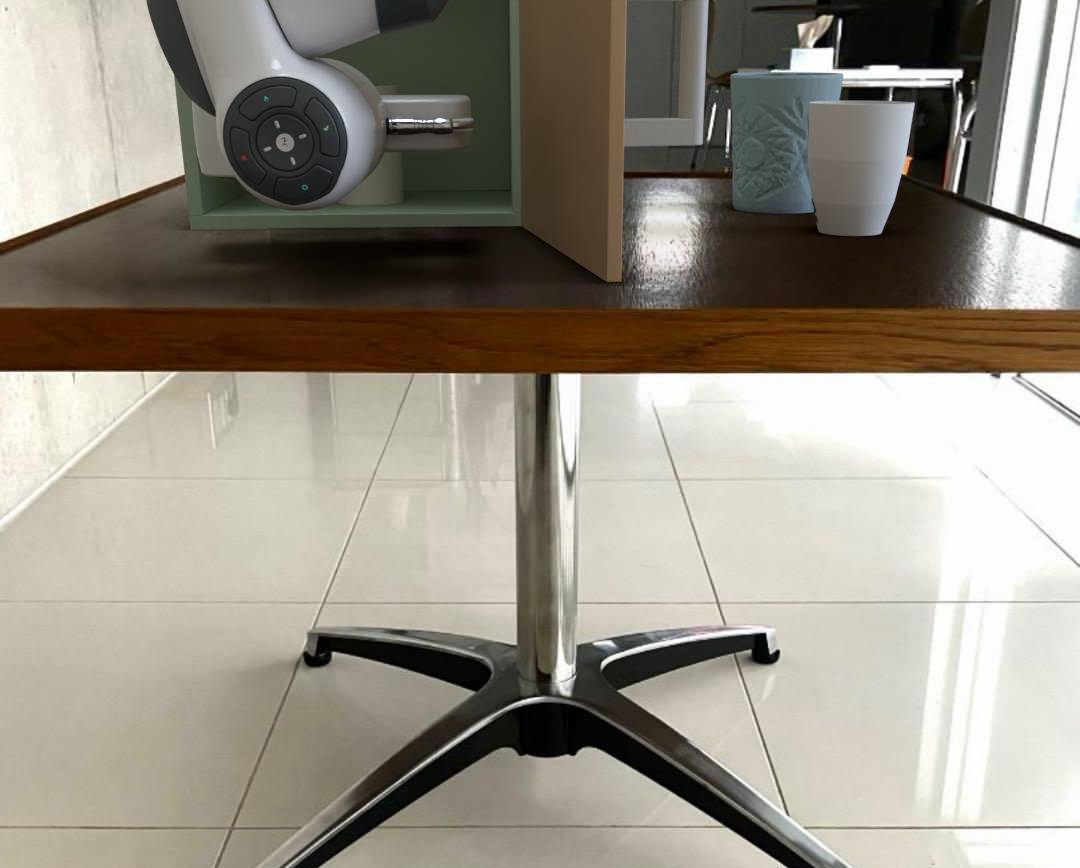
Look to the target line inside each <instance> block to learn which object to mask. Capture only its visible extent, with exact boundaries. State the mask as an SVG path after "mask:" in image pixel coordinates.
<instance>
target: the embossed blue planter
mask: <svg viewBox="0 0 1080 868" xmlns="http://www.w3.org/2000/svg"><path fill="white" fill-rule="evenodd" d="M729 81H730V97H731V98H730V99H731V111H732V116H731V119H732V130H731V131H732V136H731V148H732V152H731V153H732V154H731V163H732V181H731V182H732V183H731V185H732V189H731V191H732V206H733V209H734V210H736V211H741V212H748V213H759V214H806V213H807V214H808V213H814V209H813V204H812V200H811V188H810V176H809V164H808V120H809V102H814V101H840V100H841V92H842V87H843V81H844V73H843V72H842V73H841V72H813V71H812V72H811V71H810V72H809V71H807V72H806V71H804V72H803V71H802V72H800V71H792V72H791V71H767V72H766V71H760V72H757V71H756V72H755V71H754V72H737V73H736V72H735V73H732V74H730V80H729Z"/></svg>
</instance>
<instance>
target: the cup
mask: <svg viewBox="0 0 1080 868" xmlns="http://www.w3.org/2000/svg"><path fill="white" fill-rule="evenodd" d="M915 104H916V103H915V102H914V101H913V102H912V101H899V100H896V101H895V100H839V101H814V102H809V120H808V164H809V176H810V188H811V200H812V204H813V209H814V212H813V214H814V219H815V222H816V226H817V231H818V233H821V234H824V235H832V236H841V237H843V236H844V237H865V236H866V237H868V236H869V237H870V236H877V235H881V234H882V233H883V230H884V227H885V225H886V223H887V221H888V218H889V216H890V213H891V210H892V208H893V206H894V204H895V201H896V197H897V192H898V188H899V185H900V182H901V178H902V173H903V171H904V167H905V164H906V163H905V162H906V159H907V153H908V147H909V140H910V135H911V128H912V122H913V117H914V110H915Z"/></svg>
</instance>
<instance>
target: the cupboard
mask: <svg viewBox="0 0 1080 868" xmlns="http://www.w3.org/2000/svg"><path fill="white" fill-rule="evenodd" d="M317 58H327V59H334V60H338V61H341V62H344V63H346V64H348V65H350V66H352V67H354V68H355V69H357V70H358V71H360V72H361V73H362V74H363V75H365V76H366V77H367V78H368V79H369V80H370V81H371V83H372V84H373V85H399V95H464V96H468V97H469V98H470V100H471V116H472V118H473V119H474V122H475V126H474V130H473V131H472V141H471V144H470V145H469V146H467V147H465V148H462V149H457V150H451V151H438V152H402V163H403V186H404V202H402V203H399V204H392V205H379V206H353V205H343V204H339V203H338V201H337V202H336V203H334V204H331V205H329V206H327V207H323V208H320V209H315V210H306V211H293V210H285V209H280V208H276V207H273V206H271V205H268V204H266V203H264V202H263V201H261V200H259V199H258V198H256V197H255V196H254V195H252V194H251V193H250V192H249V191H248V190H246V189H245V188H244V187H243V186H242V185H241V183H240V182H239V181H238V180H237V179H230V178H220V177H213V176H206V175H204V174H203V173H202V171H201V167H200V163H199V158H198V155H197V148H196V142H195V134H194V125H193V110H192V100H190V99H189V97H188V96H187V95H186V94H185V92H184V91H183V89H182V88H181V86H180V84H179V82H178V81H177V79H176V77H175V75H174V74H173V80H174V88H175V97H176V98H175V99H176V107H177V118H178V125H179V134H180V144H181V153H182V164H183V173H184V181H185V182H184V183H185V190H186V199H187V209H188V215H189V216H188V219H189V227H190V231H222V230H223V231H225V230H226V231H227V230H228V231H229V230H230V231H232V230H235V231H237V230H244V231H245V230H270V229H329V228H330V229H336V228H341V229H343V228H347V229H348V228H349V229H351V228H437V227H438V228H445V227H447V228H450V227H451V228H452V227H522V226H521V156H520V60H519V0H449V1H448V2H447V4H446V6H445V7H444V9H443V10H442V12H441V13H440V14H439V16H438V17H437V18H436V20H435V21H434V22H433V23H429V24H425V25H422V26H418V27H414V28H410V29H406V30H402V31H398V32H395V33H391V34H387V35H383V36H382V35H381V33H380V34H378V35H375V36H372V37H370V38H367V39H364V40H361V41H359V42H356V43H353V44H351V45H348V46H345V47H342V48H340V49H337V50H334V51H332V52H329V53H326V54H323V55H321V56H318V57H317Z"/></svg>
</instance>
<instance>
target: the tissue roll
mask: <svg viewBox="0 0 1080 868" xmlns="http://www.w3.org/2000/svg"><path fill="white" fill-rule="evenodd" d="M374 86H375V88H376V89H377V91H378V93H379V94H380V95H399V85H374ZM402 202H404V186H403V163H402V152H384V155H383V157H382V159H381V161H380V163H379V164H378V166H377V167H376V169H375V170H374V171H373V172H372V173H371V174H370V175H369V176H368V177H367V178H366V179H365V180H364V181H363V182H362V183H361V184H359V185H358V186H357V187H356V188H355V189H354V190H353V191H352V192H351V193H349V194H348V195H347V196H345V197H344V198H343V199H341V200H339V201H338V203H339V204H343V205H353V206H379V205H392V204H399V203H402Z"/></svg>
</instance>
